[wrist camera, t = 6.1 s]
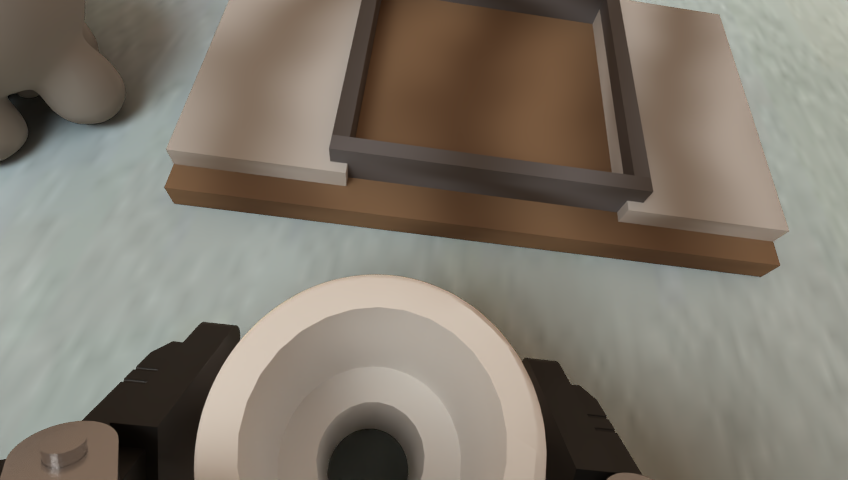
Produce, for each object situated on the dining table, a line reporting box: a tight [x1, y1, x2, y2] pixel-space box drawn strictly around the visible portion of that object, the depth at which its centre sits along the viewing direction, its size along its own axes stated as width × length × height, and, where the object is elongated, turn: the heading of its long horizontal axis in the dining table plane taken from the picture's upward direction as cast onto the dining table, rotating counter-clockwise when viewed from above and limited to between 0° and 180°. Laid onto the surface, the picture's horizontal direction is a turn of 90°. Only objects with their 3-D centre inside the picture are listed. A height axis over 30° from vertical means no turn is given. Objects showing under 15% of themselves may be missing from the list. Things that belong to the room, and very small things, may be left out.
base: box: [164, 0, 789, 277], centre depth 21 cm, size 22×14×2 cm, turn 85°
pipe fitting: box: [194, 275, 547, 480], centre depth 11 cm, size 6×7×8 cm
